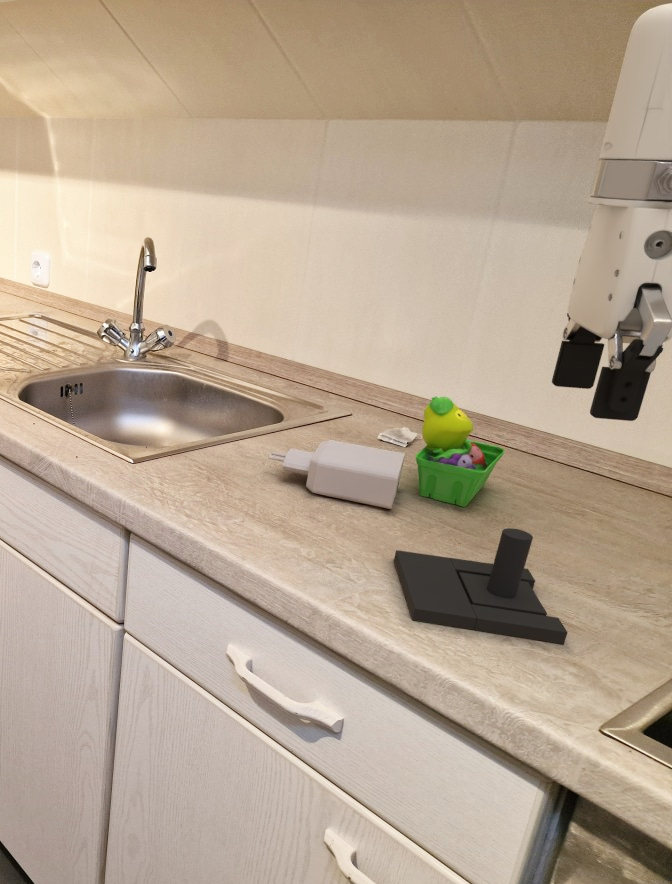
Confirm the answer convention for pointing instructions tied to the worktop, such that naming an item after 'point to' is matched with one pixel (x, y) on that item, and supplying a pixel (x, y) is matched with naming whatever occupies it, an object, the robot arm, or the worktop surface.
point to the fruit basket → (452, 455)
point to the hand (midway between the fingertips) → (590, 401)
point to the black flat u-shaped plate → (465, 599)
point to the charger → (348, 471)
